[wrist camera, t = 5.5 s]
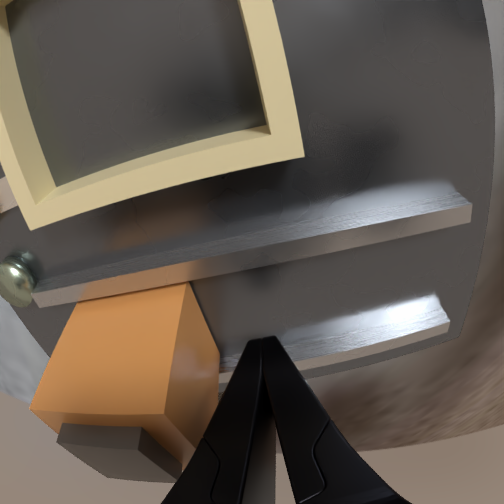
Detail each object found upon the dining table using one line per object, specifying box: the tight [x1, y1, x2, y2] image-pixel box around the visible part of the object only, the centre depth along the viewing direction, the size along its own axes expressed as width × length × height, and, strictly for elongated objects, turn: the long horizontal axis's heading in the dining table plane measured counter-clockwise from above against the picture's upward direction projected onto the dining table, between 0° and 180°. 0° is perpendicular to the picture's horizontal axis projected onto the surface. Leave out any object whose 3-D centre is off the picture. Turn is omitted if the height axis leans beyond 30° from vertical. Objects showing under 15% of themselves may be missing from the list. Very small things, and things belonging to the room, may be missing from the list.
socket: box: [0, 0, 305, 231], centre depth 5 cm, size 7×7×1 cm
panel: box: [0, 0, 495, 393], centre depth 8 cm, size 18×17×2 cm
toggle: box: [29, 281, 220, 483], centre depth 8 cm, size 4×4×5 cm
